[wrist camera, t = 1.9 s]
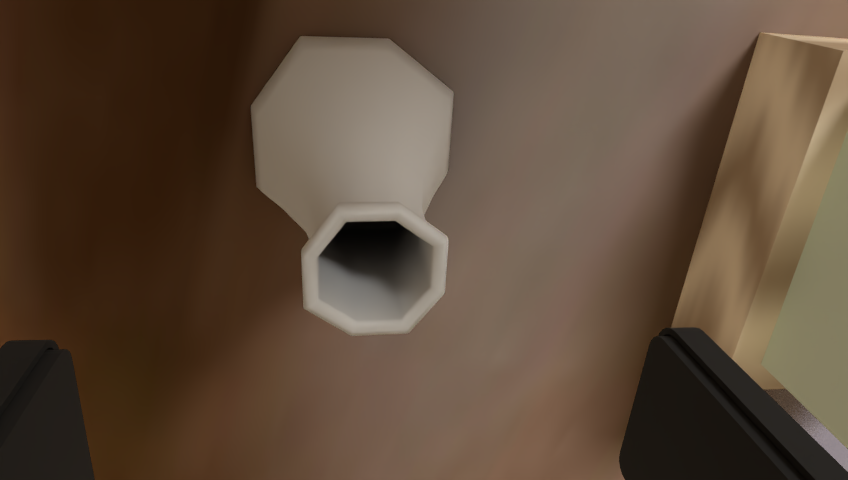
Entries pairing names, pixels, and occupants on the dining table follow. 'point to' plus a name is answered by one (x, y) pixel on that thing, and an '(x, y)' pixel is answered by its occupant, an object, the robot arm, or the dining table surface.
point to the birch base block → (767, 194)
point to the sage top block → (818, 314)
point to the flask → (358, 177)
